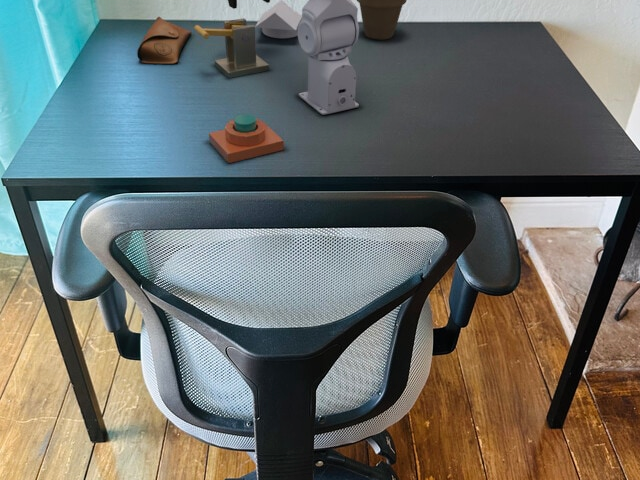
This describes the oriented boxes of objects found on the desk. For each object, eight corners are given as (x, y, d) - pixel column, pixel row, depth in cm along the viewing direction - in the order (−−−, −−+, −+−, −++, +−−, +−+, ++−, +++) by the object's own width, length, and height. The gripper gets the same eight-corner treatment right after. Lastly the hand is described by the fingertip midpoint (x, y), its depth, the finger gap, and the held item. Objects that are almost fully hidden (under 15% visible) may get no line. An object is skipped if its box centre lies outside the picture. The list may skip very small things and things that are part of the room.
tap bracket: (228, 78, 131) (225, 32, 125) (214, 65, 136) (210, 21, 130) (269, 70, 135) (267, 25, 129) (254, 58, 139) (252, 14, 133)
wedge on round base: (295, 46, 145) (304, 25, 155) (295, 14, 141) (304, -5, 150) (255, 43, 146) (266, 23, 155) (254, 11, 141) (265, -8, 151)
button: (260, 131, 109) (259, 121, 107) (239, 135, 107) (239, 125, 106) (250, 122, 111) (250, 112, 110) (231, 126, 109) (230, 116, 108)
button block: (283, 149, 110) (283, 130, 108) (228, 163, 107) (227, 143, 104) (262, 130, 116) (262, 111, 113) (209, 142, 112) (207, 122, 109)
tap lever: (203, 42, 125) (204, 29, 124) (193, 34, 129) (194, 21, 127) (250, 43, 130) (252, 31, 129) (240, 35, 134) (241, 23, 132)
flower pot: (345, 29, 154) (347, -18, 147) (388, 24, 157) (392, -22, 150) (367, 46, 146) (370, -2, 139) (411, 40, 150) (417, -7, 143)
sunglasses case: (179, 62, 135) (158, 32, 131) (152, 78, 138) (131, 50, 134) (193, 31, 149) (174, 3, 145) (168, 46, 151) (149, 20, 147)
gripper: (268, -81, 130) (270, -7, 140) (201, -73, 124) (208, 4, 133) (287, -73, 126) (288, 2, 135) (218, -65, 120) (224, 14, 129)
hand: (249, 4), depth 134 cm, fingers open, 7 cm apart
